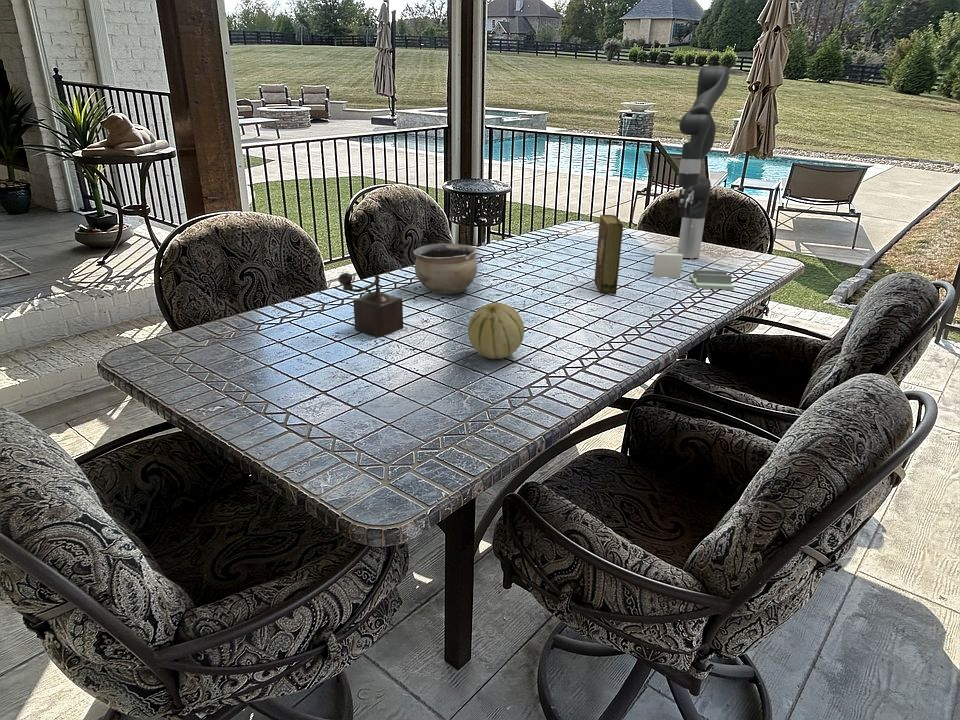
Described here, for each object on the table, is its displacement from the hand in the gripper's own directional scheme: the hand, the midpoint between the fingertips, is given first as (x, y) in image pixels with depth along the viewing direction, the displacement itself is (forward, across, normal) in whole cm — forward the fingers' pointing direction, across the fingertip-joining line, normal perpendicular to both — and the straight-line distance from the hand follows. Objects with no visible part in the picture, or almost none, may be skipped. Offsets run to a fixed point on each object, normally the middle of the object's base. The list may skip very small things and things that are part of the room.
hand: (684, 216), depth 243 cm
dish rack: (+23, +8, +14) cm, 28 cm away
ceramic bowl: (+23, +69, -64) cm, 97 cm away
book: (+23, +35, -17) cm, 46 cm away
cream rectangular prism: (+23, +7, -3) cm, 24 cm away
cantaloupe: (+26, +112, -21) cm, 117 cm away
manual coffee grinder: (+25, +114, -60) cm, 132 cm away
